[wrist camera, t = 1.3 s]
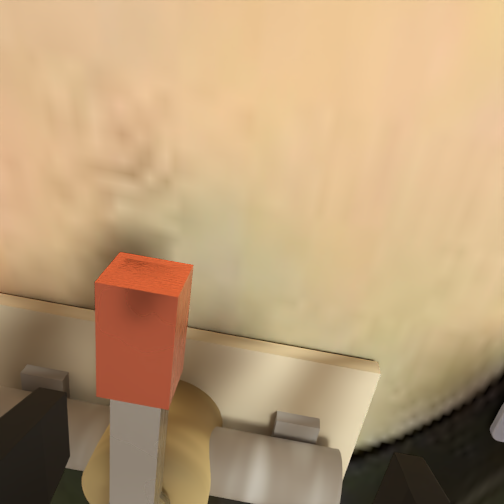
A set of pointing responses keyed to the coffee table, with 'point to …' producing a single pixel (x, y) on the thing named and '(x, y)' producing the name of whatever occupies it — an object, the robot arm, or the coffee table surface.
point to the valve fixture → (202, 408)
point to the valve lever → (140, 366)
